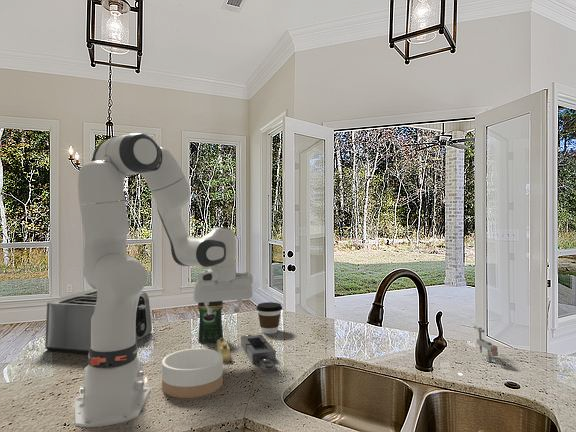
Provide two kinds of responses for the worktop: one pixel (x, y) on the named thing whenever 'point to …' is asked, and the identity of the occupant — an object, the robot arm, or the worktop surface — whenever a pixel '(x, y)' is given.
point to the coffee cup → (269, 316)
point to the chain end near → (263, 357)
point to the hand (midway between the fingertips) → (223, 313)
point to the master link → (223, 349)
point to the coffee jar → (210, 322)
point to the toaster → (84, 321)
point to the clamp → (486, 345)
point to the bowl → (192, 373)
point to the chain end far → (253, 342)
